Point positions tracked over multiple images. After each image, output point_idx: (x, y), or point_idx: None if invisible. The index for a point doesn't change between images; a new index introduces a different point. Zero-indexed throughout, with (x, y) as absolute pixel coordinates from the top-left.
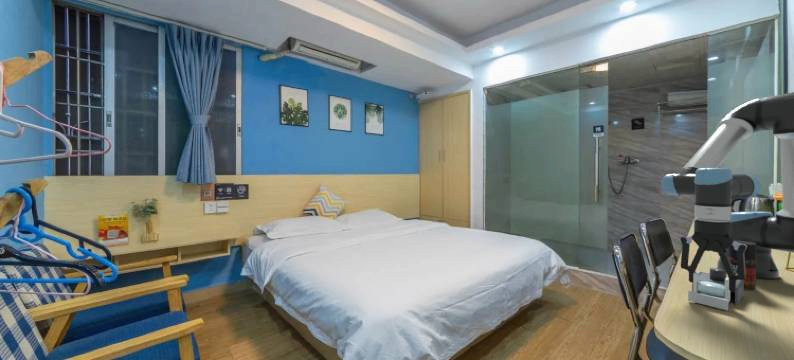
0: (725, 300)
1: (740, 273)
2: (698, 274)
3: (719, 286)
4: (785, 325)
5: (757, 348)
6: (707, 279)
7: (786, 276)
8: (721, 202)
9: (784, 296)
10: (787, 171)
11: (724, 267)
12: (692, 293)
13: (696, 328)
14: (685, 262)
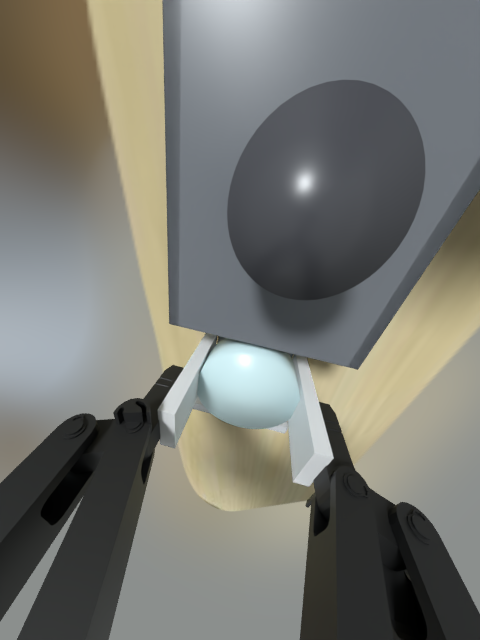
0: (279, 430)
1: (389, 601)
2: (181, 411)
3: (274, 401)
4: (392, 418)
5: (291, 496)
6: (233, 280)
7: None
8: None
9: None
10: None
11: (302, 624)
12: (202, 407)
13: (227, 474)
14: (64, 514)
